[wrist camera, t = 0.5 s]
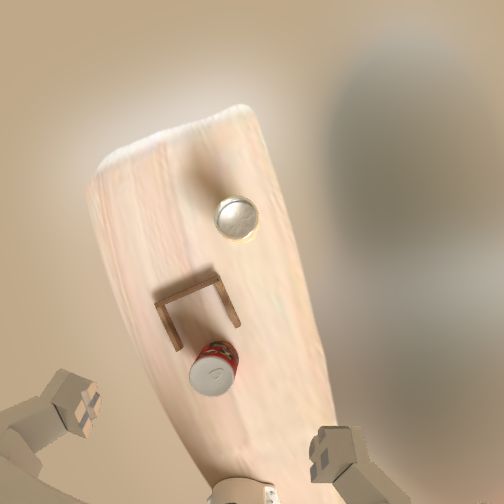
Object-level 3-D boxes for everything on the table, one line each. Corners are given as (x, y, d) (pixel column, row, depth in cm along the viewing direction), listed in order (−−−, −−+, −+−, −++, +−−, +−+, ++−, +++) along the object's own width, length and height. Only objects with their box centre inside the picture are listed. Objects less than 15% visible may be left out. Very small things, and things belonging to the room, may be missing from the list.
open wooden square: (241, 323, 59) (240, 326, 56) (179, 348, 59) (176, 351, 57) (219, 275, 59) (217, 275, 57) (158, 302, 59) (154, 303, 57)
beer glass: (218, 225, 59) (203, 213, 44) (246, 203, 59) (240, 185, 44) (239, 253, 59) (231, 250, 44) (267, 231, 59) (269, 221, 44)
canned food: (246, 354, 59) (243, 373, 48) (224, 382, 59) (216, 405, 48) (215, 332, 59) (205, 347, 48) (194, 361, 59) (180, 380, 48)
